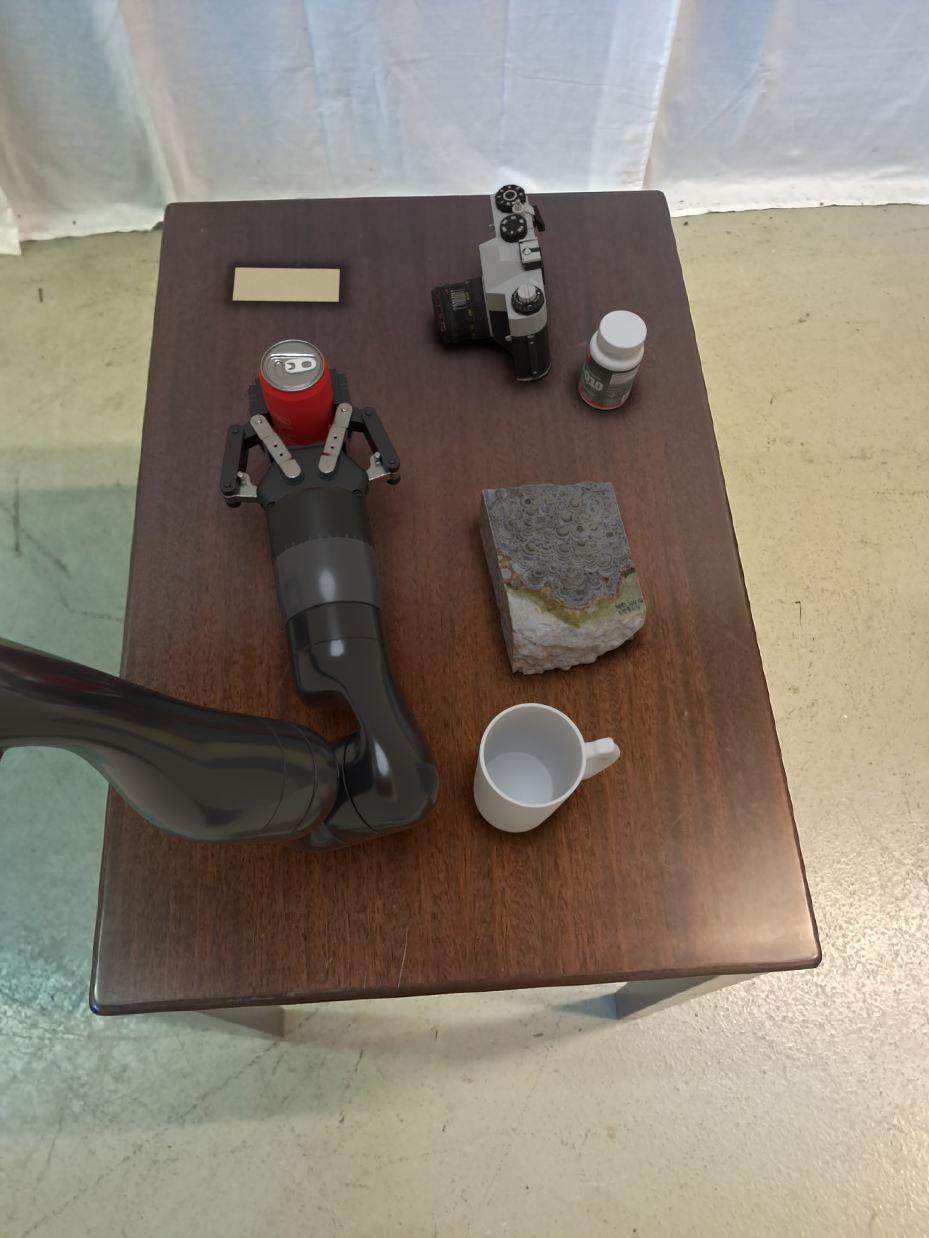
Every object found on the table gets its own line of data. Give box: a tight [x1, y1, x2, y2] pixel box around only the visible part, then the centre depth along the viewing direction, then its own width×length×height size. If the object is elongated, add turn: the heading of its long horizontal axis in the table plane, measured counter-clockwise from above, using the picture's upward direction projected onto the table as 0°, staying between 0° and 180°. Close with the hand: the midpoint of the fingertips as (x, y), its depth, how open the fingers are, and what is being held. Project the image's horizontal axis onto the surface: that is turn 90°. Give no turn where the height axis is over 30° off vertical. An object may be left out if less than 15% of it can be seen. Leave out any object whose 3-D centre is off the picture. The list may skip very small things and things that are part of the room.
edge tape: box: [232, 267, 341, 303], centre depth 83 cm, size 10×4×1 cm, turn 92°
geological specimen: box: [479, 480, 647, 676], centre depth 70 cm, size 11×6×15 cm
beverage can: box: [258, 339, 335, 446], centre depth 70 cm, size 5×5×12 cm
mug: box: [473, 702, 621, 833], centre depth 61 cm, size 10×7×12 cm, turn 100°
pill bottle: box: [578, 310, 648, 411], centre depth 77 cm, size 5×5×8 cm
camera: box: [430, 183, 552, 382], centre depth 79 cm, size 15×11×10 cm
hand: (296, 380), depth 70 cm, fingers closed on beverage can, 5 cm apart
